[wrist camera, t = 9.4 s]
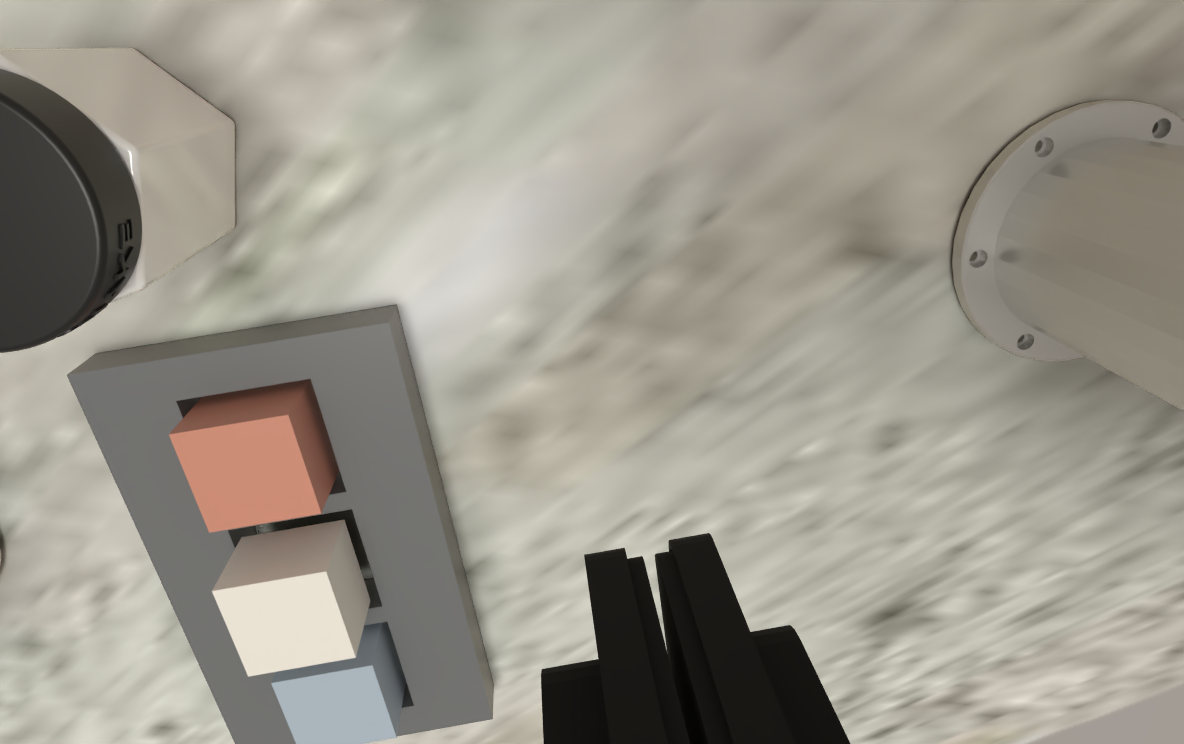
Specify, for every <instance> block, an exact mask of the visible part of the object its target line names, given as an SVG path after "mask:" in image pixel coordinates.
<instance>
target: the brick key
mask: <svg viewBox="0 0 1184 744" xmlns="http://www.w3.org/2000/svg"><path fill="white" fill-rule="evenodd" d="M169 436H170V439H171V441H172V444H173V446H174V448H175V451H176V453H177V456H178V458H179V461H180V463H181V465H182V468H183V470H184V473H185V475H186V478H187V480H188V482H189V485H190V487H191V490H192V492H193V495H194V497H195V499H196V502H197V504H198V507H199V509H200V512H201V514H202V516H203V519H204V521H205V524H206V526H207V529H208V531H209V533H211V532H217V531H222V530H228V529H234V528H240V527H246V526H252V525H258V524H263V523H269V522H275V521H281V520H287V519H293V518H299V517H305V516H310V515H316V514H321V513H322V511H323V508H324V506H325V504H326V501H327V499H328V496H329V494H330V491H331V489H332V486H333V484H334V481H335V479H336V476H337V474H338V472H339V467H338V464H337V461H336V457H335V454H334V451H333V448H332V445H331V442H330V438H329V435H328V432H327V429H326V426H325V423H324V419H323V416H322V413H321V410H320V407H319V404H318V400H317V397H316V394H315V391H314V388H313V385H312V382H311V379H306V380H300V381H294V382H288V383H282V384H276V385H270V386H264V387H258V388H252V389H246V390H239V391H233V392H227V393H221V394H215V395H209V396H203V397H201V398H200V400H199V401H198V402H197V403H196V404H195V405H194V406H193V408H192V409H191V410H190V411H189V412H188V413H187V414H186V416H185V417H184V418H183V419H182V420H181V421H180V422H179V424H178V425H177V426H176V427H175V428H174V429H173V430H172V431H171V433H170V434H169Z"/></svg>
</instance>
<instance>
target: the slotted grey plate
mask: <svg viewBox="0 0 1184 744" xmlns="http://www.w3.org/2000/svg"><path fill="white" fill-rule="evenodd" d="M67 377H68V379H69V381H70V383H71V385H72V388H73V390H74V392H75V394H76V396H77V399H78V401H79V403H80V405H81V407H82V409H83V412H84V414H85V416H86V418H87V420H88V423H89V425H90V427H91V429H92V431H93V434H94V436H95V438H96V440H97V442H98V445H99V447H100V449H101V451H102V453H103V455H104V458H105V460H106V462H107V464H108V466H109V469H110V471H111V473H112V475H113V477H114V480H115V482H116V484H117V486H118V488H119V490H120V493H121V495H122V497H123V499H124V501H125V504H126V506H127V508H128V510H129V512H130V515H131V517H132V519H133V521H134V523H135V526H136V528H137V530H138V532H139V534H140V536H141V539H142V541H143V543H144V545H145V547H146V550H147V552H148V554H149V556H150V558H151V561H152V563H153V565H154V567H155V569H156V571H157V574H158V576H159V578H160V580H161V582H162V585H163V587H164V589H165V591H166V593H167V596H168V598H169V600H170V602H171V604H172V606H173V609H174V611H175V613H176V615H177V617H178V620H179V622H180V624H181V626H182V628H183V631H184V633H185V635H186V637H187V639H188V642H189V644H190V646H191V648H192V650H193V652H194V655H195V657H196V659H197V661H198V663H199V666H200V668H201V670H202V672H203V674H204V677H205V679H206V681H207V683H208V685H209V687H210V690H211V692H212V694H213V696H214V698H215V701H216V703H217V705H218V707H219V709H220V712H221V714H222V716H223V718H224V720H225V723H226V725H227V727H228V729H229V731H230V733H231V736H232V738H233V740H234V742H235V744H296V742H295V740H294V737H293V735H292V733H291V730H290V728H289V725H288V723H287V721H286V718H285V716H284V713H283V711H282V708H281V706H280V704H279V701H278V699H277V696H276V694H275V691H274V689H273V687H272V684H271V682H272V680H273V677H274V674H275V672H272V673H266V674H260V675H255V676H249V677H248V675H247V672H246V670H245V668H244V665H243V663H242V661H241V658H240V656H239V654H238V651H237V649H236V647H235V644H234V642H233V640H232V637H231V635H230V633H229V630H228V628H227V626H226V623H225V621H224V619H223V616H222V614H221V611H220V609H219V607H218V604H217V602H216V600H215V597H214V595H213V593H212V590H213V588H214V586H215V585H216V583H217V581H218V579H219V577H220V575H221V574H222V572H223V570H224V568H225V566H226V564H227V563H228V561H229V559H230V557H231V555H232V554H233V552H234V550H235V548H236V546H237V544H238V543H239V541H240V539H241V537H245V536H251V535H257V534H256V531H255V529H254V526H257V525H252V526H246V527H240V528H234V529H228V530H222V531H217V532H211V533H209V531H208V529H207V526H206V524H205V521H204V519H203V516H202V514H201V512H200V509H199V507H198V504H197V502H196V499H195V497H194V495H193V492H192V490H191V487H190V485H189V482H188V480H187V478H186V475H185V473H184V470H183V468H182V465H181V463H180V461H179V458H178V456H177V453H176V451H175V448H174V446H173V444H172V441H171V439H170V436H169V434H170V433H171V431H172V430H173V429H174V428H175V427H176V426H177V425H178V424H179V422H180V421H181V420H182V419H183V418H184V417H185V416H186V414H187V413H188V412H189V411H190V410H191V409H192V408H193V406H194V405H195V404H196V403H197V402H198V401H199V400H200V398H201V397H203V396H209V395H215V394H221V393H227V392H233V391H239V390H246V389H252V388H258V387H264V386H270V385H276V384H282V383H288V382H294V381H300V380H306V379H311V382H312V385H313V388H314V391H315V394H316V397H317V400H318V404H319V407H320V410H321V413H322V416H323V419H324V423H325V426H326V429H327V432H328V435H329V438H330V442H331V445H332V448H333V451H334V454H335V457H336V461H337V464H338V467H339V472H338V474H337V476H336V479H335V481H334V484H333V486H332V489H331V491H330V494H329V496H328V499H327V501H326V504H325V506H324V508H323V511H322V513H321V514H327V513H333V512H339V511H345V510H351V509H352V511H353V514H354V517H355V521H356V524H357V527H358V530H359V533H360V536H361V540H362V543H363V546H364V549H365V552H366V555H367V559H368V562H369V565H370V568H371V571H372V574H373V579H367V580H364V582H365V585H366V588H367V591H368V594H369V597H370V604H369V608H368V612H367V616H366V620H365V624H364V625H370V624H376V623H381V622H388V625H389V628H390V631H391V634H392V638H393V641H394V644H395V647H396V650H397V653H398V657H399V660H400V663H401V666H402V669H403V672H404V676H405V679H406V685H405V691H404V697H403V703H402V709H401V715H400V721H399V727H398V733H397V736H401V735H407V734H412V733H418V732H423V731H429V730H435V729H440V728H446V727H451V726H457V725H462V724H468V723H473V722H479V721H485V720H490V719H493V693H494V684H493V680H492V676H491V672H490V669H489V665H488V661H487V657H486V653H485V649H484V645H483V641H482V637H481V633H480V629H479V625H478V622H477V618H476V614H475V610H474V606H473V602H472V598H471V594H470V590H469V586H468V582H467V578H466V575H465V571H464V567H463V563H462V559H461V555H460V551H459V547H458V543H457V539H456V535H455V531H454V528H453V524H452V520H451V516H450V512H449V508H448V504H447V500H446V496H445V492H444V488H443V485H442V481H441V477H440V473H439V469H438V465H437V461H436V457H435V453H434V449H433V445H432V441H431V438H430V434H429V430H428V426H427V422H426V418H425V414H424V410H423V406H422V402H421V398H420V394H419V391H418V387H417V383H416V379H415V375H414V371H413V367H412V363H411V359H410V355H409V351H408V348H407V344H406V340H405V336H404V332H403V328H402V324H401V320H400V316H399V312H398V308H397V305H392V306H386V307H380V308H374V309H368V310H361V311H355V312H349V313H343V314H337V315H331V316H324V317H318V318H312V319H306V320H300V321H294V322H287V323H281V324H275V325H269V326H263V327H257V328H250V329H244V330H238V331H232V332H226V333H220V334H214V335H207V336H201V337H195V338H189V339H183V340H177V341H170V342H164V343H158V344H152V345H146V346H140V347H133V348H127V349H121V350H115V351H109V352H103V353H97V354H94V355H93V356H92V357H90V358H89V359H88V360H86V361H85V362H84V363H82V364H81V365H80V366H78V367H77V368H76V369H74V370H73V371H72V372H70V373H69V374H68V375H67ZM321 514H316V515H321ZM310 516H315V515H310ZM310 516H305V517H310ZM299 518H304V517H299ZM293 519H298V518H293ZM287 520H292V519H287ZM281 521H286V520H281ZM275 522H280V521H275ZM269 523H274V522H269ZM269 523H263V524H269ZM263 524H258V525H263Z"/></svg>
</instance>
